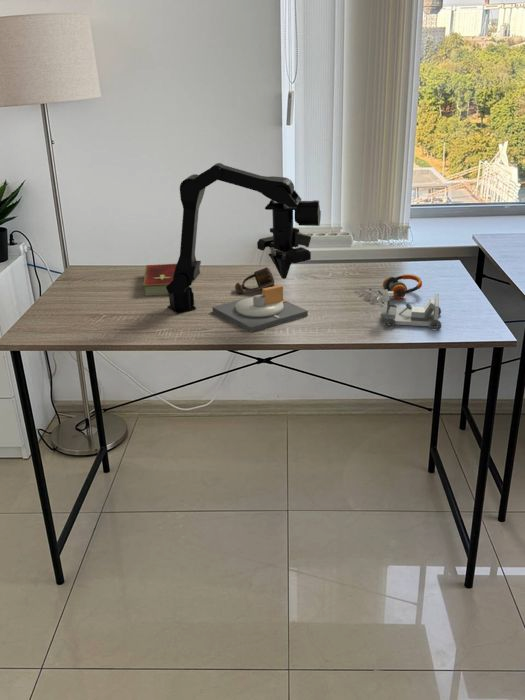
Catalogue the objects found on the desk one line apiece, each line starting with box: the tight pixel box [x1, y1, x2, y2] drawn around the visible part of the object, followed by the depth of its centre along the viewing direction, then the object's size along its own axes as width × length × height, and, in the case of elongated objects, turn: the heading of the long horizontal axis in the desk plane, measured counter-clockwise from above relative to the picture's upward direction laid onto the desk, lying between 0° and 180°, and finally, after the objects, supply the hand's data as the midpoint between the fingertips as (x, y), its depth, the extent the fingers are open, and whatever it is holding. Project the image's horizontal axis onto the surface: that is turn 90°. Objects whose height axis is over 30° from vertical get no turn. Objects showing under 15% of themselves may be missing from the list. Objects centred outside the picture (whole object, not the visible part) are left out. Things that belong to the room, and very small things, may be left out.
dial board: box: [212, 293, 309, 333], centre depth 215 cm, size 20×20×2 cm
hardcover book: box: [142, 263, 177, 296], centre depth 241 cm, size 12×21×4 cm, turn 5°
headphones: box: [354, 273, 423, 305], centre depth 225 cm, size 16×5×20 cm
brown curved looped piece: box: [234, 267, 276, 294], centre depth 232 cm, size 7×13×10 cm
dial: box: [236, 284, 284, 317], centre depth 213 cm, size 14×14×6 cm
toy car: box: [376, 289, 442, 331], centre depth 206 cm, size 18×10×12 cm
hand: (283, 278), depth 210 cm, fingers closed
